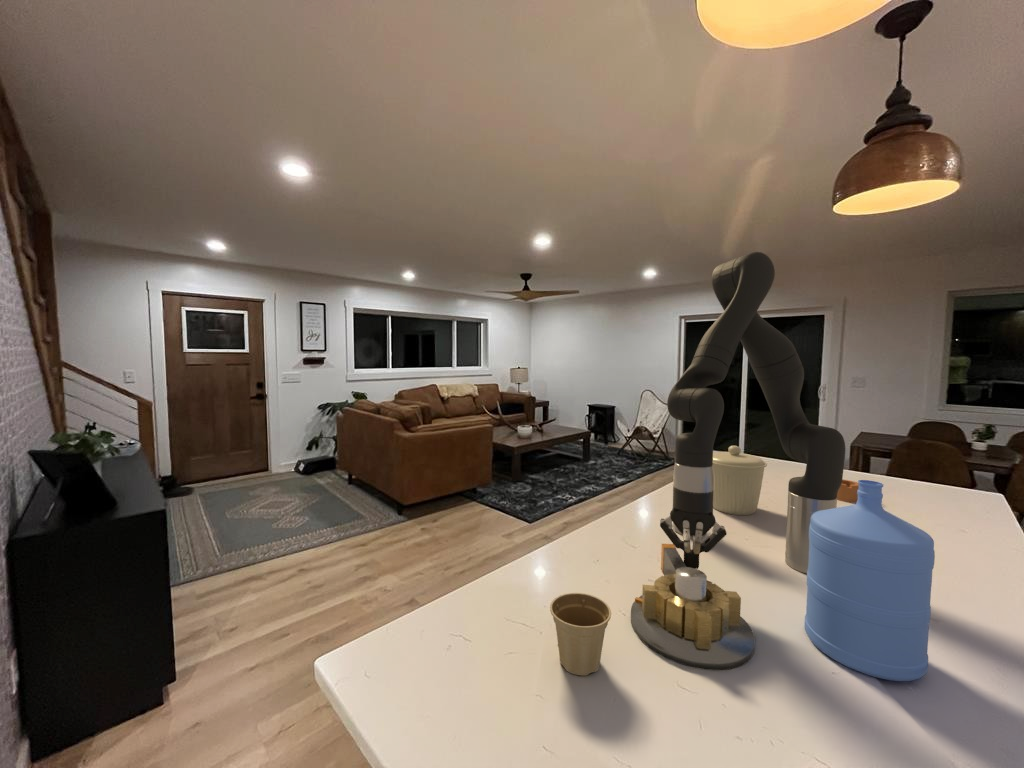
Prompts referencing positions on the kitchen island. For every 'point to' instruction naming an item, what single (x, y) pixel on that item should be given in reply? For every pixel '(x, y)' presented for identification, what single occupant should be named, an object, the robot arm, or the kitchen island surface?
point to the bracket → (848, 491)
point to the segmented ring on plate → (689, 605)
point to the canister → (737, 481)
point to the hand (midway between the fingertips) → (691, 569)
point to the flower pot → (580, 630)
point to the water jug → (870, 588)
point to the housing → (723, 652)
